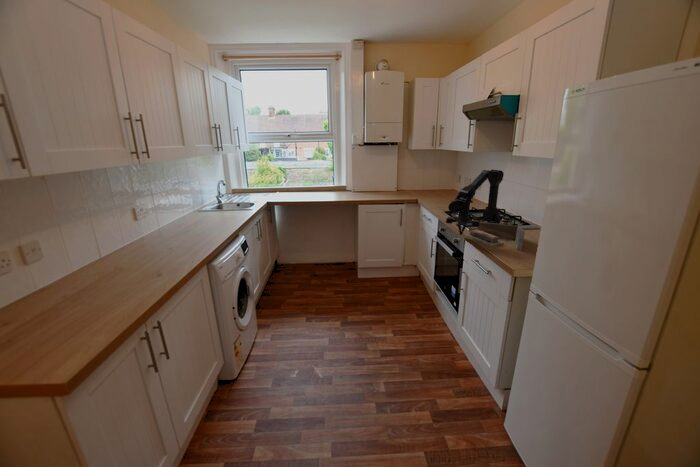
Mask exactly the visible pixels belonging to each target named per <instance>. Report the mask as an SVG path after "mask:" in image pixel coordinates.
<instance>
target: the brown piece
mask: <svg viewBox="0 0 700 467" xmlns="http://www.w3.org/2000/svg"><path fill="white" fill-rule="evenodd" d="M476 229H477V230H481V231H483V232H486V233H489V234H491V235H494V236H497V237H499V238H503V239H510V240H514V242H515V246H516V250H517V251H522V250H523V249H522V248H523V244H524V239H525V234H526V233H525V230H524V227H523V223H517V225H513V224H505V223H504V224H503V223H499V224H497V223H488V222H487V221H479V227H477V228H476Z"/></svg>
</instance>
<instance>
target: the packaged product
mask: <svg viewBox="0 0 700 467" xmlns="http://www.w3.org/2000/svg"><path fill="white" fill-rule="evenodd" d="M477 229H478V228H476V229H472V230H470V232H469V234H468V235H467V238H469V239H472V240H474V241H477V242H480V243H481V244H485V245H487V246H490V247H494V246H497V245H502V244H504V242H503V241H500V237H497V236H494V235H491V234H489V233H486V232H483V231H481V230H477Z"/></svg>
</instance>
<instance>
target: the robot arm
mask: <svg viewBox="0 0 700 467" xmlns="http://www.w3.org/2000/svg"><path fill="white" fill-rule="evenodd" d="M504 174H505V173H504V171H503V170H501V169H499V170H498V169H493V168H491V169H490V170H488V169H483V170H481V172H480V173H479V174H478V175H477V176H476V178H474V180H472V182H470V184H468V185H467V186H466V185H465V186H464V187H463V188H462V189H460V190H459V192H458V194H457V196H456V197H455V199H454V200H451V202H450V203H449V204H448V206H447V208H448V211H449V212H450V213H457V212H458V216H457V218H455V217H453V216H447V217H446V219H445V223H446V224H450V225H451V224H453V223H455V226H456V227H457V229H458V232H459V235H460V236H462V235H463V233H464V232H465V229H466V228H467V227H469V225H471V226H472V227H476V228H478V227H479V222H480V220H479V219H474V218H473V219H472V220H471V217H469V215H470V206H471V204H472V203H474V201H473V200H472V199H473V198H474V196H476V191H477V190H478V189H479V188H480V187H481V186H482V185H483V184H484V183H485V182H486V181H488V182H489V183H488V184H489V191H488V201H487V202H488V203H487V207H486V208H485V209H483V214H482V215H483V219H484V220H483V222H488V223H497V224H501V222H502V219H501V217H500V215H499V212H500V211H499V210H498V208H497V205H498V196H499V187H500V184H501V183H502V181H503V179H504V176H505V175H504Z"/></svg>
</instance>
